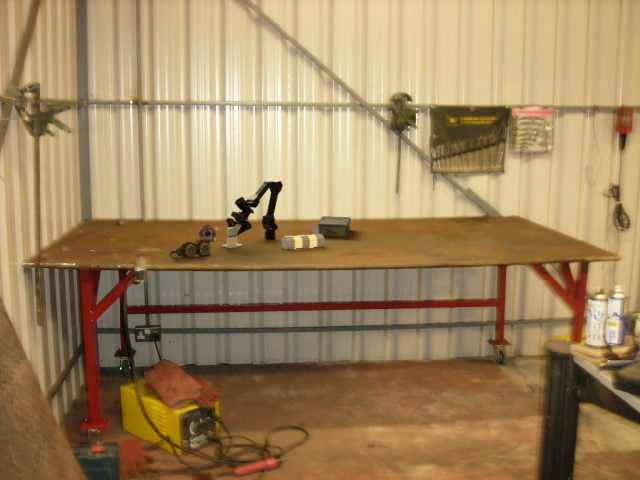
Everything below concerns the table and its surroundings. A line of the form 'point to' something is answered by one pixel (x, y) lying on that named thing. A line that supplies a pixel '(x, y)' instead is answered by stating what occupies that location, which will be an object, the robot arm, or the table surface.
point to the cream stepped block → (232, 242)
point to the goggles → (193, 249)
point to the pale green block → (231, 231)
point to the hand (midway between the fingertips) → (232, 233)
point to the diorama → (303, 241)
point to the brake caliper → (207, 233)
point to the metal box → (334, 226)
